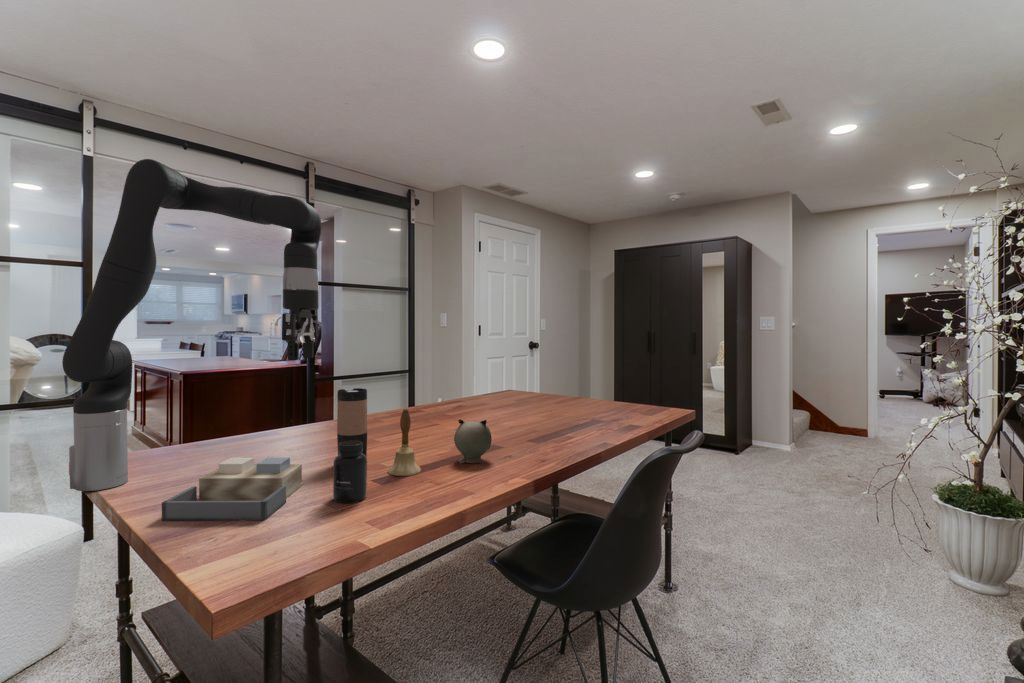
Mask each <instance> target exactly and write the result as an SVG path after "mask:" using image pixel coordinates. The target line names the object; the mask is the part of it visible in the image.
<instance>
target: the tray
mask: <svg viewBox="0 0 1024 683" xmlns="http://www.w3.org/2000/svg"><path fill="white" fill-rule="evenodd" d="M197 494H198V492H197V486H191V487H189V488H187V489H185V490H183V491H182V492H179V493H177V494H175V495H174V496H171V497H170V498H168V499H166V500H164V501H163V502H161V521H162V522H207V521H208V522H213V521H214V522H219V521H218V520H247V521H266V520H268V519H269V518H270V517H271V516H272V515H273V514H275V513H276V512H277V511H278V510H279V509H281V507H283V506H284V505H285V504H286V503H287V498H286V486H282V487H280V488H279V489H278V490H276V491H275V492H273V493H272V494H271V495H269V496H268V497H267V498H265V499H264V500H254V501H199V500H198V499H197V498H198V497H197V496H198V495H197ZM215 520H217V521H215Z"/></svg>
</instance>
